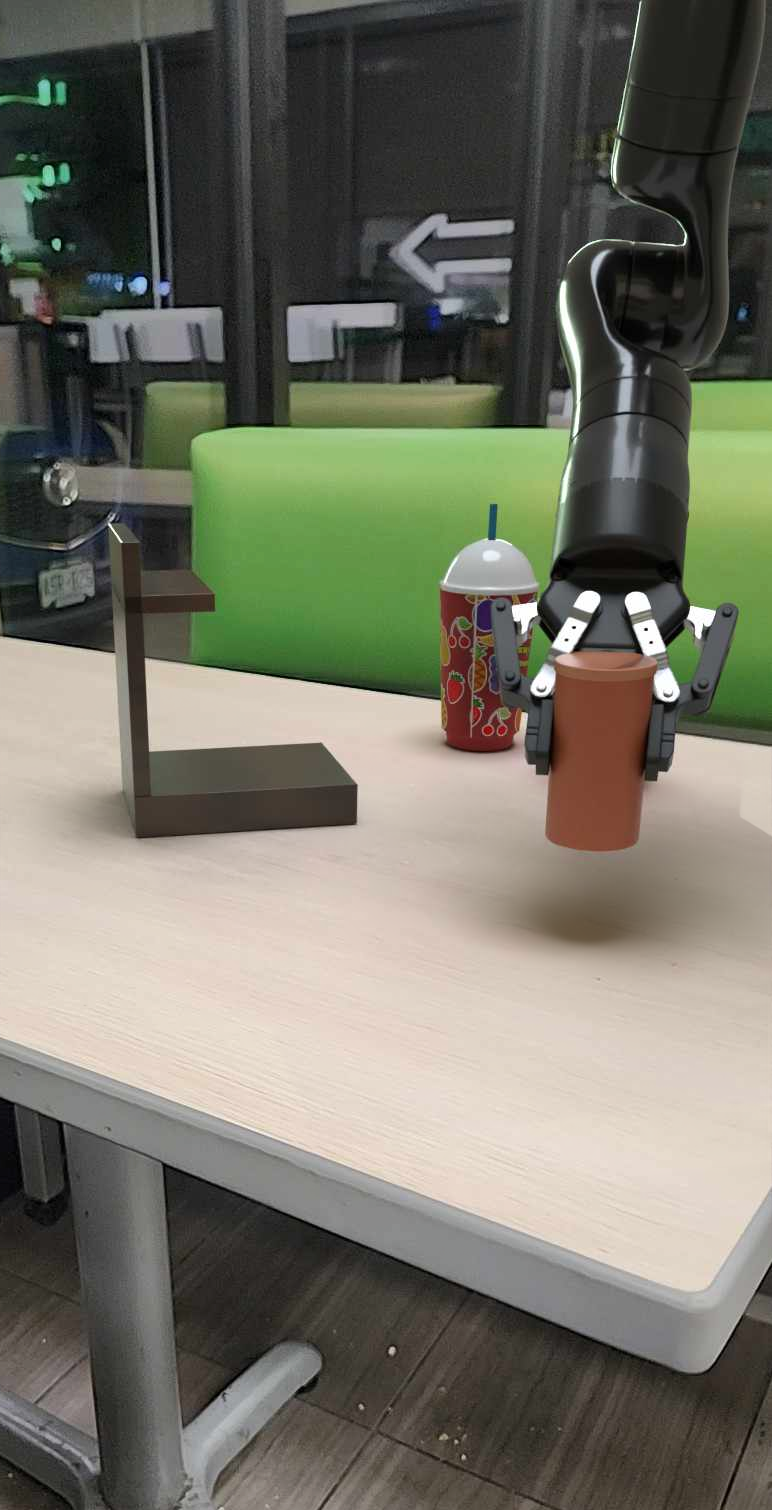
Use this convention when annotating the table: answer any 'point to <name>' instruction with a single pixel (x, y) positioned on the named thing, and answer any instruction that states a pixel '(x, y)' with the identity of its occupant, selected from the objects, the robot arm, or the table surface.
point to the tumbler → (599, 749)
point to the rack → (211, 780)
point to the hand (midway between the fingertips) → (596, 770)
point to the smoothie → (480, 640)
